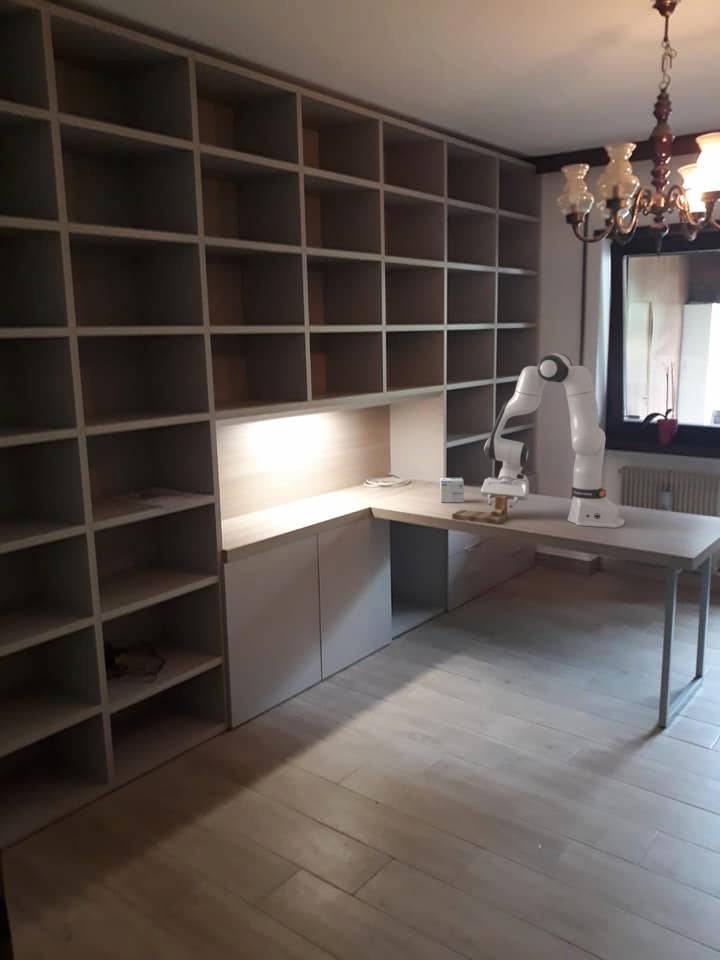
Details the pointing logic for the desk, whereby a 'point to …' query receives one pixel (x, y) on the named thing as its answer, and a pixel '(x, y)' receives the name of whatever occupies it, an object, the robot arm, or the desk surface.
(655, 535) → the desk surface
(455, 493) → the light bulb box
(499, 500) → the brown l-shaped block
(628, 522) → the desk surface
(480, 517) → the plank
